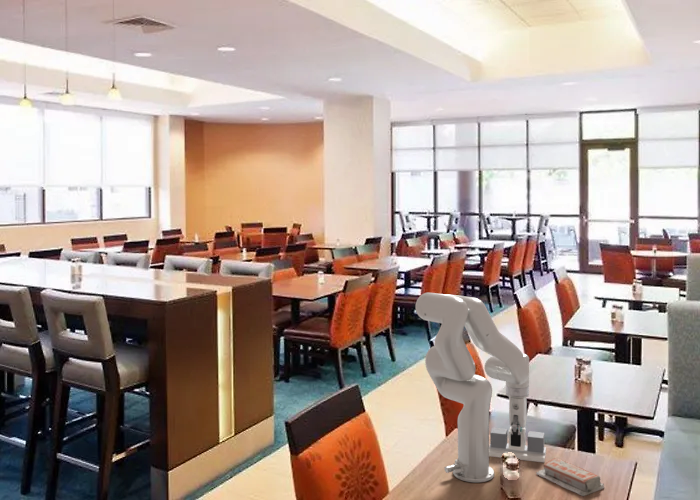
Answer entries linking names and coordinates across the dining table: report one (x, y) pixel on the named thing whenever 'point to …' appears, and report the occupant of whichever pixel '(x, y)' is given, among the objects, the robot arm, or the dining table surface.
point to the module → (523, 440)
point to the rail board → (531, 452)
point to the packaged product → (571, 477)
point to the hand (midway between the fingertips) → (517, 440)
